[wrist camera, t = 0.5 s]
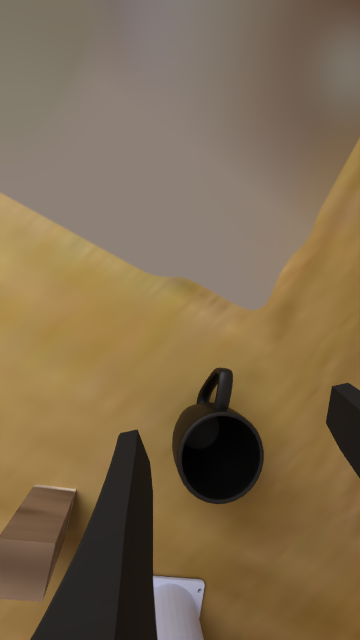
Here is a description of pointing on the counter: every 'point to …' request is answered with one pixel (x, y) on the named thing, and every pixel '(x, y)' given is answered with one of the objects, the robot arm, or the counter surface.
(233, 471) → the mug
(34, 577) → the walnut block
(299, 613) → the counter surface
